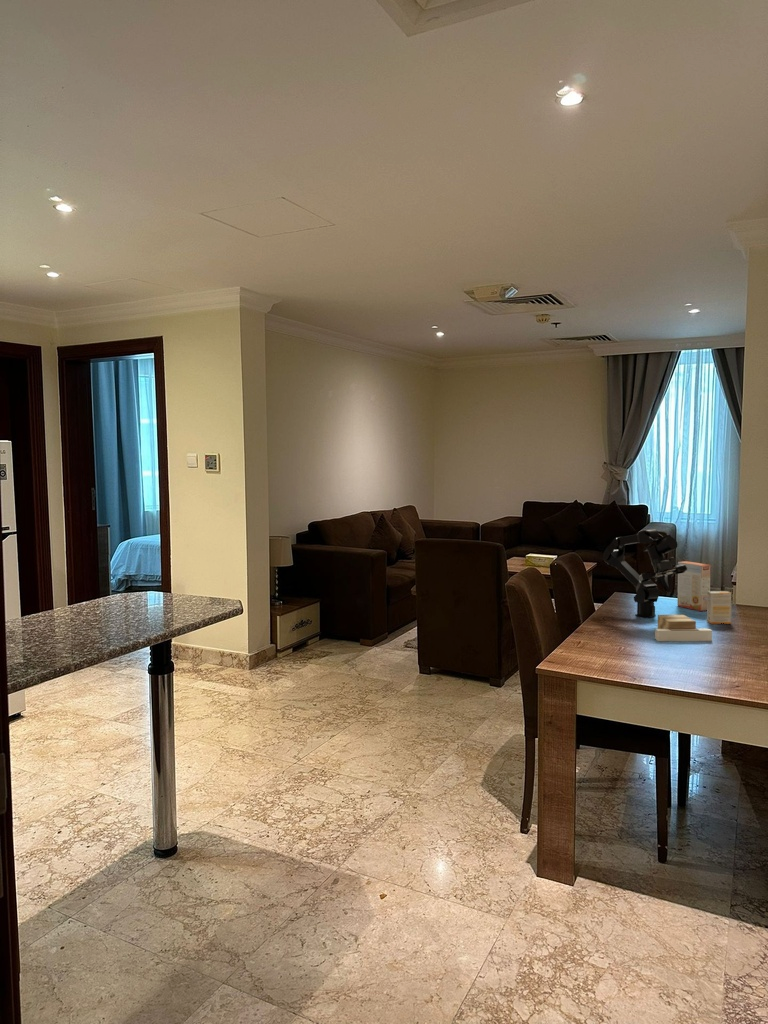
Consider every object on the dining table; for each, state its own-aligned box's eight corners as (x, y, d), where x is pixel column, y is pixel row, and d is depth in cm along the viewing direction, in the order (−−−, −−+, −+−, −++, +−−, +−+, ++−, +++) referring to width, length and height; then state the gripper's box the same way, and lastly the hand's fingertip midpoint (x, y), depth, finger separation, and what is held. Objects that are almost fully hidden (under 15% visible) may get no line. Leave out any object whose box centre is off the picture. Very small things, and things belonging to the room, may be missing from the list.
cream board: (655, 639, 271) (655, 628, 271) (708, 638, 271) (708, 627, 270) (657, 641, 268) (658, 629, 268) (711, 640, 267) (712, 629, 267)
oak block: (657, 632, 283) (657, 614, 283) (683, 632, 283) (683, 614, 282) (668, 639, 271) (669, 621, 271) (695, 639, 271) (695, 621, 270)
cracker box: (710, 610, 321) (711, 564, 320) (700, 611, 319) (701, 565, 317) (686, 605, 334) (687, 560, 333) (676, 606, 332) (677, 561, 330)
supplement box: (726, 621, 299) (727, 590, 298) (731, 624, 294) (732, 592, 293) (706, 621, 300) (707, 590, 299) (710, 624, 295) (711, 592, 294)
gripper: (639, 557, 297) (651, 593, 292) (684, 547, 296) (697, 583, 291) (634, 564, 308) (645, 599, 302) (677, 554, 307) (689, 589, 301)
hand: (669, 592), depth 299 cm, fingers closed
